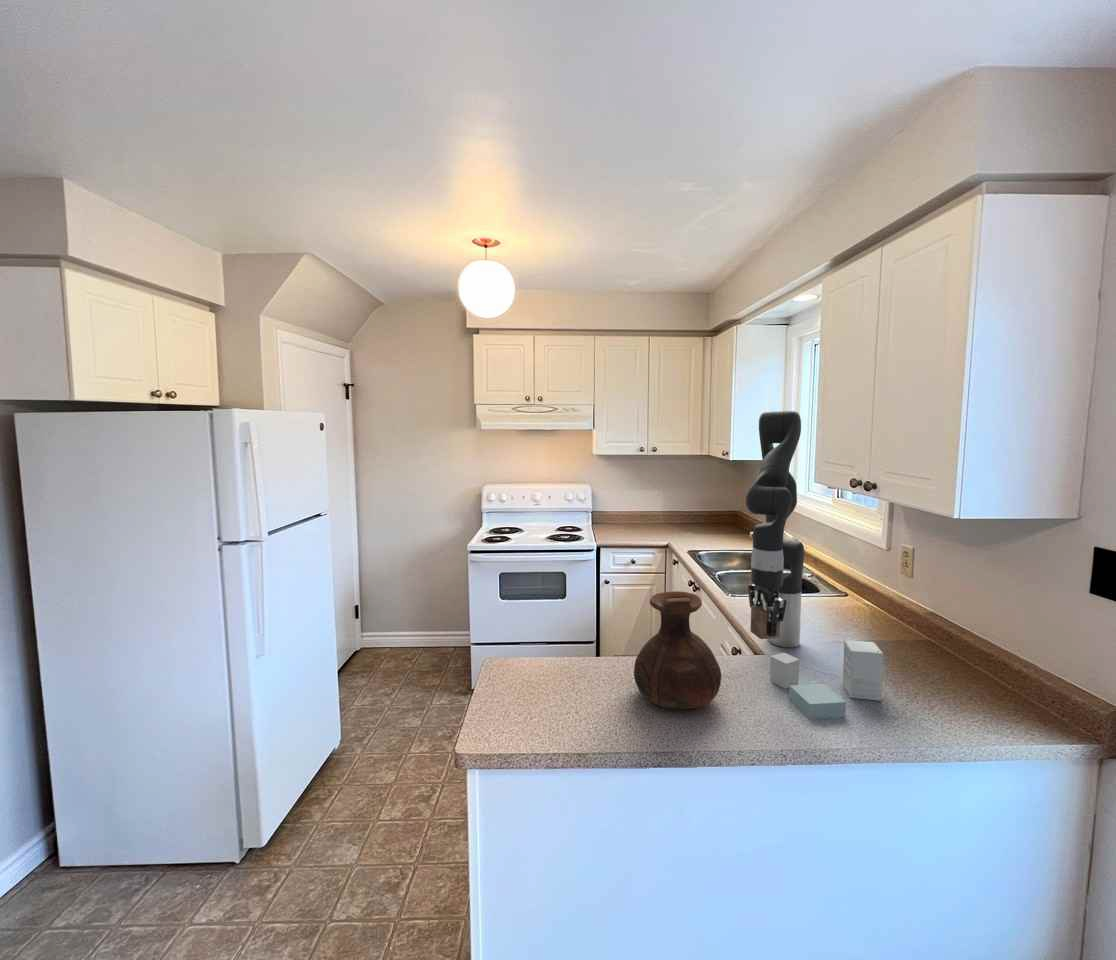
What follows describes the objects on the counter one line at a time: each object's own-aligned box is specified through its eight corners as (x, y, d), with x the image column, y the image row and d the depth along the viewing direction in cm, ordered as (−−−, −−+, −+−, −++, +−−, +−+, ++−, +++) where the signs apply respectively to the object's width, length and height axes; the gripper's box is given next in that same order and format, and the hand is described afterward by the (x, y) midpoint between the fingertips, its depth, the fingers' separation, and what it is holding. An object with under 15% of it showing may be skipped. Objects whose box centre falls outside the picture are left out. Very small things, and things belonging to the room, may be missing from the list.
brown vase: (615, 696, 136) (615, 583, 133) (668, 671, 149) (669, 568, 146) (685, 733, 119) (686, 605, 116) (737, 701, 133) (740, 585, 130)
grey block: (770, 680, 143) (770, 656, 142) (783, 676, 145) (784, 652, 145) (785, 688, 139) (786, 663, 138) (798, 684, 141) (799, 659, 140)
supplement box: (872, 687, 139) (874, 641, 137) (881, 702, 132) (884, 653, 130) (841, 684, 141) (843, 638, 139) (848, 698, 134) (851, 650, 132)
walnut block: (750, 631, 136) (751, 605, 135) (768, 630, 136) (769, 603, 136) (761, 639, 131) (761, 612, 130) (779, 637, 132) (780, 610, 131)
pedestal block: (789, 700, 133) (789, 685, 133) (822, 698, 134) (823, 683, 134) (808, 720, 124) (809, 704, 124) (845, 717, 125) (845, 702, 125)
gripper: (738, 559, 138) (737, 622, 140) (769, 574, 124) (767, 643, 126) (765, 558, 139) (763, 620, 141) (798, 572, 125) (795, 641, 127)
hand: (765, 630), depth 133 cm, fingers closed on walnut block, 5 cm apart
